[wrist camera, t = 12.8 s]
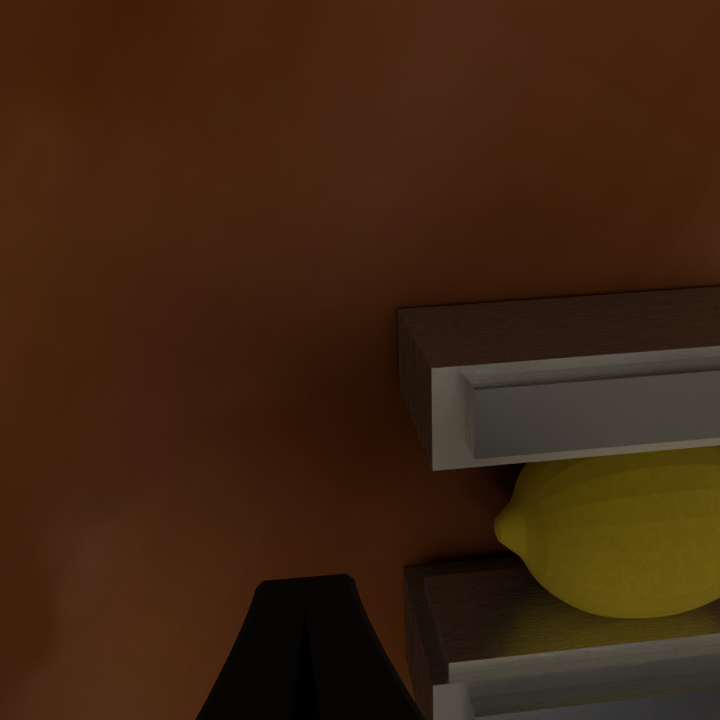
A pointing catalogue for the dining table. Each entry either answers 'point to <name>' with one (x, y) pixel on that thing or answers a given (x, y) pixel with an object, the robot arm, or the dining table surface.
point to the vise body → (549, 651)
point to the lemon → (620, 530)
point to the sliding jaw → (562, 376)
